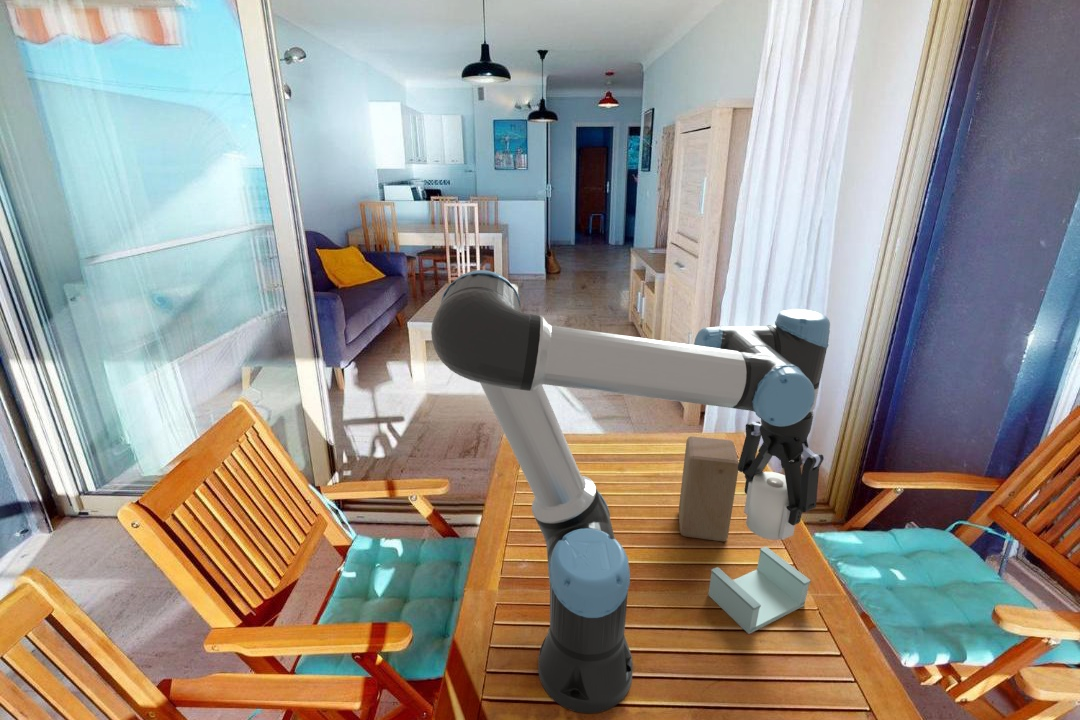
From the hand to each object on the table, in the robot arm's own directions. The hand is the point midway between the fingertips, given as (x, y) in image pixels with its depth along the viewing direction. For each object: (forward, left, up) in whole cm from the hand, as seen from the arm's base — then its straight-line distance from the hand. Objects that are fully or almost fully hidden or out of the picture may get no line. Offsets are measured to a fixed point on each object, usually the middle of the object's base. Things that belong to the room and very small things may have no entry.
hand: (767, 523), depth 97 cm
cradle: (0, 0, -17) cm, 17 cm away
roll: (0, 0, -1) cm, 1 cm away
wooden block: (+6, +21, -18) cm, 28 cm away
